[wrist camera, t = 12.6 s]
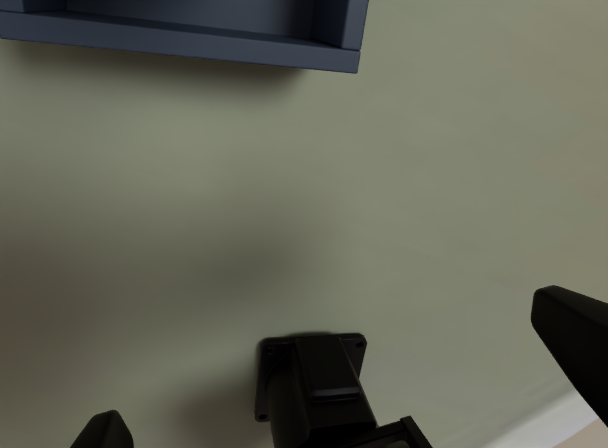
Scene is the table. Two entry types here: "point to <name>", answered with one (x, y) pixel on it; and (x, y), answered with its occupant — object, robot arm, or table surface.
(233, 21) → the tub
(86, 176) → the table surface
